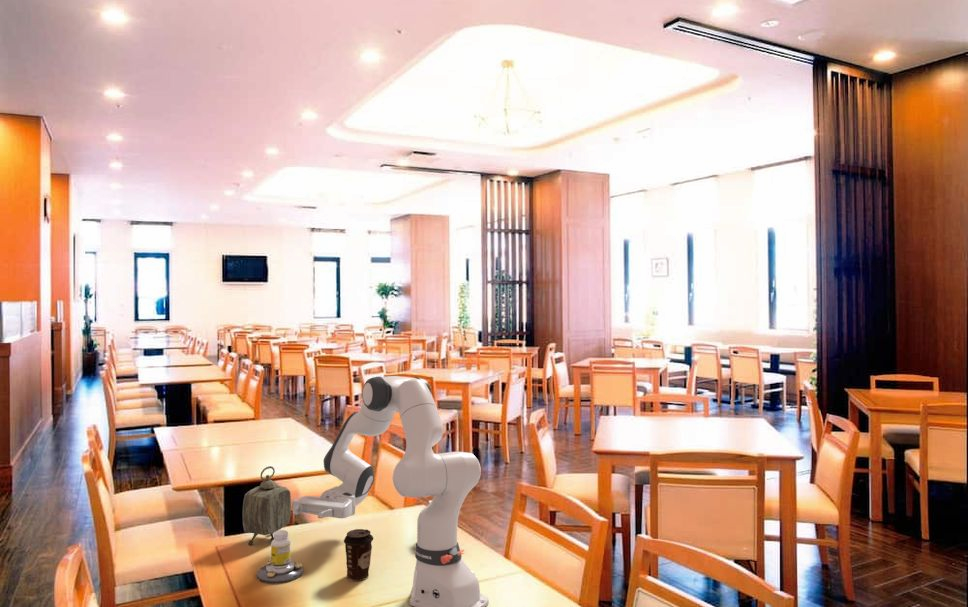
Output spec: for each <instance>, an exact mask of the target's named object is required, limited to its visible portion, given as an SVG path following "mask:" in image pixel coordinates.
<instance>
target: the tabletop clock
mask: <svg viewBox="0 0 968 607" xmlns="http://www.w3.org/2000/svg"><path fill="white" fill-rule="evenodd" d="M269 469H272V473H271V475H269V474H267V475H265V477H263V474H264V472H265V471H266V470H269ZM275 472H276V471H275V467H274V466H266V467H264V468H263V469H262V471H261V473H260V479H261V480H262V481H261V482H260V484H259V486H255V487H254V488H252V489H250V490H249V491H247V492H246V493H245V494H244V498H243V502H242V516H241V517H242V526H243V532H244V533H249V534H253V536H252V538H251V539H250V540H248V542H247V544H248V546H252V545H253V544H254V540H255V538H256V537H257V536H258V535H262V536H268V535H270V539H269V541H270V543H272V541H273V540H274V532H276V531H279V530H282V529H283V528H285V527H287V526H288V525H289V523H290V520H291V514H292V512H291V509H292V508H291V507H292V502H291V497H292V496H291V492H290V490H289V489H288V487H286V486H281V485H276V483H275V481H273V480H271V478H273V477H274V475H275Z"/></svg>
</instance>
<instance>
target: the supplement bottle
mask: <svg viewBox="0 0 968 607" xmlns="http://www.w3.org/2000/svg"><path fill="white" fill-rule="evenodd" d="M288 533H289V532H288V530H286V529H284V530H283V529H280V530H278V531H276V532H274V533H273V537H274V540H273V541H272V542H270V546H271V547H270V548H271V549H270V550H271V552H270V553H271V554H270V557H271V559H270V560H271V565H272V567H273V568H285V567H287V566H289V565H290V561H291V539H290V538H289V537H288V536H289V534H288Z"/></svg>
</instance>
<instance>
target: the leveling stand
mask: <svg viewBox="0 0 968 607" xmlns="http://www.w3.org/2000/svg"><path fill="white" fill-rule="evenodd" d="M303 574H304V566H303V564H302V562H295V561H293V560H290V565H289V566H287V567H285V568H273V567H272V565H271V559H269V560H267V564H265V565H263V566H261V567H260V568H259V569H258V570H257V572H256V577H257V580H258V579H259V580H258V581H260V582H262V583H265V582H266V583H265V584H283V583H284V582H285V583H288V582H292V581H294V580H297V579H299V578H300V577H301V576H303ZM285 583H284V584H285Z"/></svg>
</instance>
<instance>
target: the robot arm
mask: <svg viewBox="0 0 968 607" xmlns="http://www.w3.org/2000/svg"><path fill="white" fill-rule="evenodd" d="M361 392H362V393H361V394H362V397H361V398H362V403H361V406H360V409H358V410H359V411H354V412H352V413H351V414H350V415H349V416H348V417H347V418H346V419H345V422H344V423H343V425H342V426H341V428H340V430H339V432H338V434H337V436H336V438H335V439H334V442H333V444H332V445H331V447H330V448H329V450H328V451H327V452H326V454H325V456H324V458H323V467H324V468H323V469H324V472H326V473H328V474H329V475H331V476H333V477H335V478H337V479H338V480H339V481H341V482H342V483H341V484H339V485H337V486H334V487H331V488H328V489H326V490H325V491H323V492H322V493H321V495H320V496H314V495H305V496H301V497H297V498H295V499H293V500H292V502H291V507H292V508H291V509H292V514H293V515H295V516H296V515H300V514H307V515H308V514H309V515H315V516H317V518H318V519H323V518H324V519H325V518H334V519H335V518H336V519H346V518H348V517H352V516H355V515H356V514H355V513H356V507H357V506H358V505H360V504H361V503H362V502H363V501H365V499H366V498H367V497H368V495H369V492H370V489H371V488H372V486H373V483H374V481H375V469H374V467H373V466H372V465H371V464H369V463H368V462H367V461H365V460H364V459H362V458H361V457H360V456H358V455H356V454H354V453H353V452H352V451H351V450H350V447H349V446H350V443H351V442H352V440H353V438H354V436H355V435H362V436H365V437H376V436H380V435H382V434H384V433H386V432H387V431H388V429H389V428H390V426H391V424H392V421H393V418H394V416H395V413H399V418H400V421H401V424H402V428H403V432H404V438H405V442H406V443H405V444H406V445H405V451H404V454H403V456H402V457H401V459H400V460H399V461H398V463H396V465H395V467H394V469H393V473H392V483H393V486H394V489H395V490H396V492H397V493H398V494H399V495H400V496H401V497H403V498H404V497H406V498H419V499H420V498H425V497H431V496H433V497H432V499H431V500H432V501H431V500H430V501H431V503H430V504H429V503H428V504H427V505H426V506H425V507H424V508H423V509H422V510H421V511H420V512H419V514H418V516H417V529H416V530H417V531H416V532H417V534H416V535H417V536H416V543H415V549H414V554H415V555H414V556H415V559H416V562H415V568H414V572H413V581H412V588H411V590H410V598H409V605H410V606H412V607H485V606H486V605H487V606H488V604H489V598H488V597H487V596H486V595H484V594H482V593H481V589H480V581H479V578H478V577H477V576H476V574H475V572H474V571H473V570H472V571H471V568H469V566H468V565H467V564H466V563H465V562H464V560H463V559H462V555H464V554H465V549H461V548H460V546H459V542H458V522H459V515H460V511H461V508H462V505H463V503H464V502H465V499H466V497H467V496H468V494H469V493H470V492H471V491H472V489H473V488H474V487H475V486H477V484H478V483H479V481H480V479H481V475H482V473H481V472H482V468H481V464H480V461H479V459H478V458H477V457H476V456H475V455H474V453H472V452H466V451H449V452H440V453H439V452H438V453H435V452H434V450H433V447H434V446H435V445H436V444H438V443H439V442H440V441H441V439H442V438H443V435H444V425H443V422H442V419H441V416H440V413H439V410H438V408H437V405H436V401H435V399H434V396H433V394H432V388H431V385H430V384H429V382H428V380H426V379H425V378H422V377H417V376H414V377H411V376H399V375H389V376H374V377H371V378H368V379H367V380H366V381H365V383H364V384H363V387H362V391H361ZM487 606H486V607H487Z"/></svg>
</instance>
